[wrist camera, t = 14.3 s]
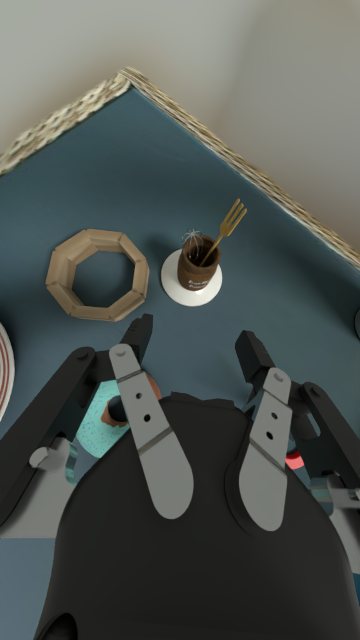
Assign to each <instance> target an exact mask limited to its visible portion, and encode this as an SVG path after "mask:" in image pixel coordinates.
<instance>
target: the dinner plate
mask: <svg viewBox="0 0 360 640" xmlns="http://www.w3.org/2000/svg"><path fill="white" fill-rule="evenodd" d="M13 357H14V355H13V350H12V346H11V343H10V340H9V337H8V335H7V333H6V331H5V329H4V327H3V326H2V324H1V323H0V421H1V419H2V416H3V414H4V412H5V410H6V407H7V404H8V402H9V399H10V395H11V392H12V387H13V382H14V372H15V368H14V358H13Z"/></svg>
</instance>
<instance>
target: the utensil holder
mask: <svg viewBox="0 0 360 640" xmlns="http://www.w3.org/2000/svg"><path fill="white" fill-rule="evenodd" d="M239 201H240V199H237V200H236V202H235V203H234V205H233V207H232V208H231V210H230V211H229V213H228V214H227V216H226V218H225V219H224V221H223V222H222V224H221V225H220V230H221V234H220V236H219V237H218V239H217V240H216V241H215V240H214V239H212V238H211V237H208V236H205V235H202V233H201V232H200V233H201V235H196V234H194V233H196V232H194V233H192V232H191V231H190V230H189V229H188V230H189V231H190V232H191V233H192V234H191V233H187V234H191V235H193V234H194V235H196V236H194V235H193V237H191V238H189V239H188V238H187V241H186V240H185V241H186V242H184V243H185V244H183V241H182V245H183V248H182V252H181V254H180V256H179V260H178V267H177V278H178V281H179V283H180V285H181V286H182V287H183V288H185V289H186V290H189V291H199V290H202V289H203V288H205V287H206V286H207V285H208V283H209V282H210V281H211V279H212V278H213V276H214V274H215V272H216V270H217V266H218V264H219V261H220V257H221V251H220V248H219V245H218V242H219V241H220V240H221V238H222V237H223V236H226V237H227V236H229V235H230V234H231V232H232V231H233V230H234V228H235V227H236V225H237V224H238V223H239V221H240V220H241V218H242V217H243V216H244V214H245V213H246V211H247V209H244V210H243V212H242V213H241V214H240V216H239V217H238V218H237V220H236V221H235V223H234V224H233V225H232V227H231V228H230V225H231V224H232V222H233V221H234V219H235V218H236V216H237V215H238V213H239V212H240V210H241V209H242V207H243V204H240V206H239V207H238V209H237V210H236V212H235V213H234V215H233V216H232V218H231V219H230V221H229V222H228V223H227V221H228V219H229V217H230V216H231V214H232V213H233V211H234V209H235V208H236V206H237V205H238V203H239ZM194 229H195V228H194ZM188 230H187V231H188ZM193 231H194V230H193ZM197 232H199V231H197ZM185 235H186V234H185ZM191 235H190V236H191ZM183 236H184V235H183ZM182 238H183V237H182Z"/></svg>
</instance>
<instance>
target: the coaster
mask: <svg viewBox="0 0 360 640" xmlns="http://www.w3.org/2000/svg"><path fill="white" fill-rule="evenodd" d="M181 252H182V249H180V250H177V251H175V252H174V253H172V254H171V255H170V256H169V257H168V258H167V259H166V261H165V262H164V264H163V267H162V271H161V280H162V285H163V287H164V290H165V291H166V293H167V294H168V296H169V297H170V298H171V299H173V300H174V301H175V302H177V303H179V304H181V305H185V306H193V307H194V306H200V305H203V304H206V303H207V302H209V301H210V300H212V299H213V298H214V297H215V296H216V294H217V293H218V291H219V289H220V287H221V283H222V273H221V269H220V266H219V264H218V266H217V270H216V272H215V274H214V276H213V278H212V279H211V281H210V282H209V283H208V285H207V286H206V287H205V288H203V289H202V290H199V291H189V290H186V289H185V288H183V287H182V286H181V285H180V283H179V281H178V278H177V267H178V260H179V256H180V254H181Z"/></svg>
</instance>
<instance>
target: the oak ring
mask: <svg viewBox="0 0 360 640" xmlns="http://www.w3.org/2000/svg"><path fill="white" fill-rule="evenodd" d="M55 249H56V251H53V252H52V257H51V261H50V266H49V270H48V275H47V279H46V283H45V284H46V285H48V286H47V287H46V288H47V289H48V290H49V291H50V293H51V294H52V295H53V296H54V298H55V299H56V300H57V301H58V303H59V304H60V305H61V306H62V308H63V309H64V310H65V311H66V313H67V314H68V315H71V316H73V317H78V318H82V319H91V320H103V321H116V322H117V320H119V321H120V320H121V319H122V318H124V317H125V316H126V315H128V314H129V313H130V312H131V311H133V310H134V309H135V308H136V307H138V306H139V305H140V304H142V303H143V302H144V299H146V295H147V286H148V277H149V267H148V264H147V261H146V258H145V257H144V256H143V255H142V253H141V252H140V251H139V250H138V249H137V248H136V247H135V245H134V244H133V243H132V242H131V241H130V240H129V239H128V237H127V236H126V235H125V234H122V233H121V232H113V231H104V230H95V229H87V231H86V230H85V229H84V230H83V231H81V232H80V233H78V234H76V235H75V236H73V237H72V238H70V239H69V240H67V241H65V242H64V243H62V244H61V245H59V246H58V247H56V248H55ZM98 250H101V251H111V252H120V253H125V254H126V256H127V257H128V258H129V259H130V260H131V261H132V263H133V264H134V265H135V272H134V280H133V288H132V290H131V291H130V292H128V293H127V294H126V295H124V296H123V297H122V298H120V299H119V300H118V301H116V302H115V303H114V304H112V305H111V306H110V307H108V308H100V307H88V306H85V305H84V304H83V303H82V302H81V300H80V299H79V298H78V297H77V296H76V294H75V293H74V292H73V291H72V286H73V281H74V276H75V271H76V266H77V264H79V263H80V262H82V261H83V260H85V259H86V258H88V257H89V256H91V255H92V254H94V253H95V252H97V251H98Z"/></svg>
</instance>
